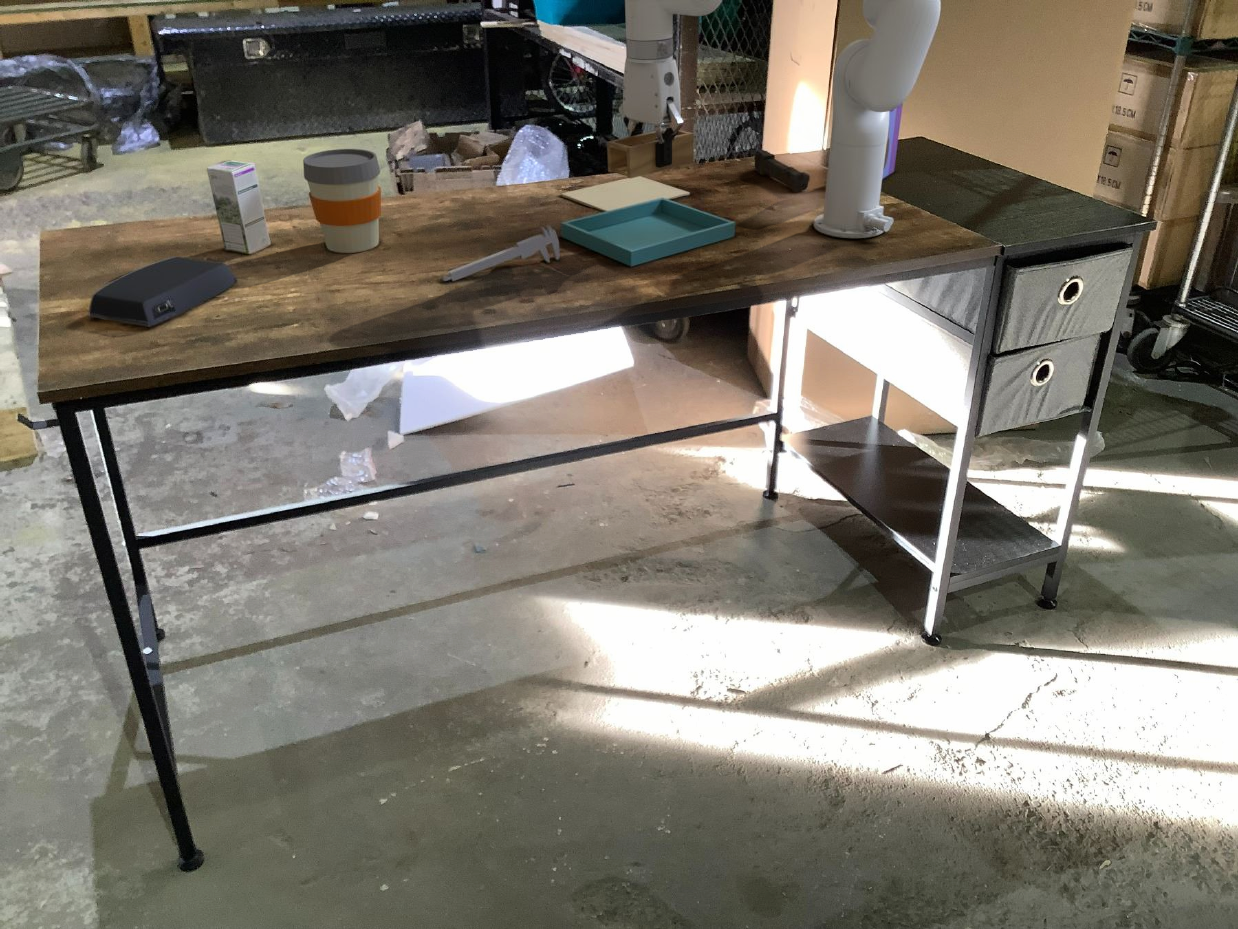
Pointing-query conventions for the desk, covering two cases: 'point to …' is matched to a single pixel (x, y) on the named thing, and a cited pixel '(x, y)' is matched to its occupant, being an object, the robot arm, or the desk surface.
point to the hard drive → (160, 291)
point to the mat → (623, 193)
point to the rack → (646, 153)
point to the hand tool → (780, 171)
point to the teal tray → (647, 231)
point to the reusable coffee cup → (345, 197)
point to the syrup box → (239, 206)
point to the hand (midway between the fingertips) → (650, 160)
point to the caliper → (512, 254)
